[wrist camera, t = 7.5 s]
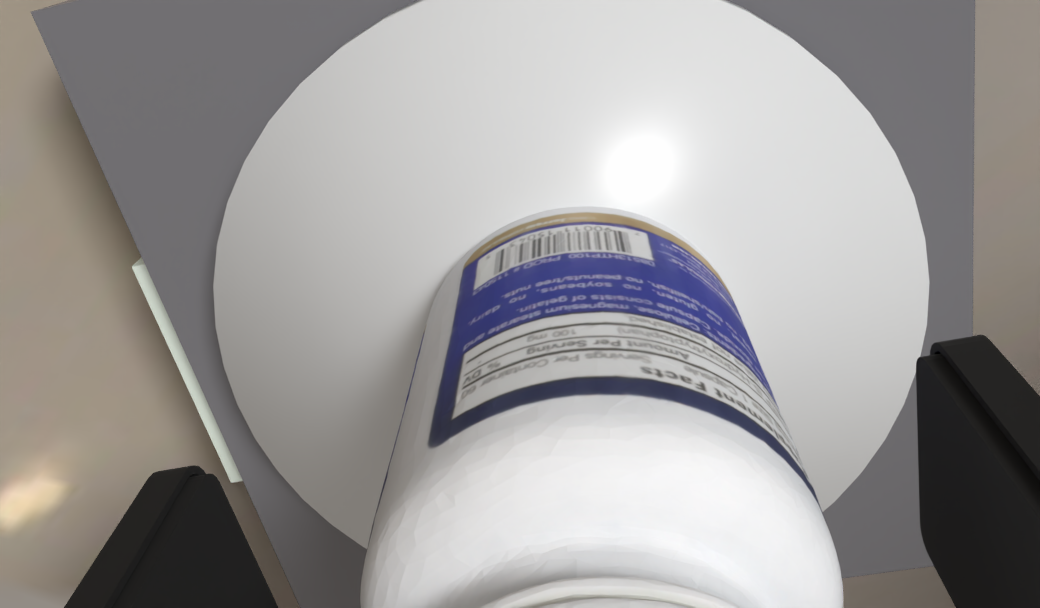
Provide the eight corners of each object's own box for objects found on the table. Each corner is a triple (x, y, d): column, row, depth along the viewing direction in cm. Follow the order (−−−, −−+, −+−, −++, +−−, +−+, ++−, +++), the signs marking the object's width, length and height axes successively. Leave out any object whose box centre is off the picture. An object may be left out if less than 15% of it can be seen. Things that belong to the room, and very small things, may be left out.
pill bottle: (635, 508, 17) (709, 1105, 9) (380, 395, 16) (201, 949, 8) (803, 284, 14) (1106, 814, 6) (516, 137, 13) (460, 546, 6)
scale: (909, -209, 14) (1003, -225, 11) (925, 482, 20) (987, 590, 17) (79, -4, 16) (-30, 27, 13) (323, 570, 22) (287, 681, 19)
